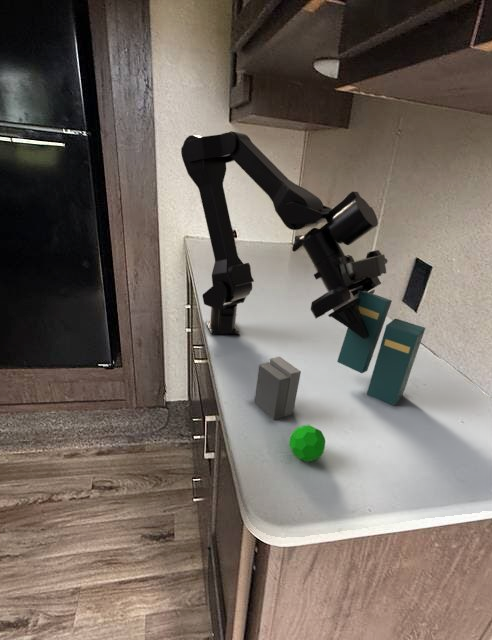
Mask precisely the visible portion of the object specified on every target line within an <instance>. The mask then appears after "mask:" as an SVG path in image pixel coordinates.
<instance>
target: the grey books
mask: <svg viewBox="0 0 492 640" xmlns="http://www.w3.org/2000/svg"><path fill="white" fill-rule="evenodd" d="M301 373H302V371H301V370H299V368H297V367H296V366H294V365H293V364H292V363H290V362H288V361H287V360H285V359H284V358H283V357H282V356H276V357H275V356H274V357H271V358H270V359H269V361H267V362H263V363H258V370H257V379H256V387H255V393H254V401H253V403H254V405H256V406H257V407H258V408H260V409H261V410H262V412H264V413H265V414H266V415H267V416H269V418H270V419H271V420H273V421H274V420H277V419H280V418H283V417H288V416H290V415H293V414H294V410H295V405H296V400H297V394H298V390H299V384H300V378H301Z"/></svg>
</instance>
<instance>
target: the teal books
mask: <svg viewBox="0 0 492 640" xmlns="http://www.w3.org/2000/svg"><path fill="white" fill-rule="evenodd" d="M425 331H426V327H424V326H421V325H418V324H415V323H411V322H408V321H405V320H402V319H399V318H394V319H393V320H391V321H390V322H389V323H387V324H386V325H385V329H384V331H383V332H384V333H383V335H382V339H381V342H380V345H379V348H378V349H379V350H378V352H377V356H376V360H375V363H374V368H373V371H372V374H371V378H370V381H369V385H368V388H367V392H366V395H367V396H370V397H372V398H375V399H377V400H379V401H382V402H384V403H387V404H389V405H392V406H396V405H397V403H398V402H399V401H400V400H401V399H402V397H403V396H404V393H405V390H406V387H407V384H408V381H409V378H410V374H411V372H412V369H413V366H414V363H415V360H416V358H417V355H418V352H419V349H420V346H421V343H422V339H423V336H424V334H425Z"/></svg>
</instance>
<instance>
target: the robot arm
mask: <svg viewBox="0 0 492 640" xmlns="http://www.w3.org/2000/svg"><path fill="white" fill-rule="evenodd" d="M180 148H181V149H180V152H181V158H182V162H183V164H184V167H185V170H186V173H187V175H188V176H189V177H190V179H191V181H192V182H193V183H194V184H195V186H196V187H197V189H198V191H199V196H200V201H201V205H202V209H203V212H204V214H203V215H204V217H205V222H206V226H207V230H208V235H209V239H210V240H209V241H210V245H211V249H212V253H213V257H214V264H213V268H212V272H211V284H212V286H211V287H209V289H207V290H206V291H205V292H204V293H203V294H202V301H203V305H205V306H208V307H210V320H207V321H206V322H205V323H206V326H207V328H208V330H209V332H210V334H211V335H239V334H240V330H239V329H238V327H237V325H236V322H237V310H238V305H240V304H243V303H245V300H246V299H247V297H248V296H249V295H250V294H251V292H252V290H253V283H254V282H255V280H254V277H253V275H252V270H251V269H252V268H251V267H252V266H251V265H250V264H251V263H249V262H246V263H244V262H243V260H241V258H240V257H239V254H238V250H237V245H236V240H235V235H234V231H233V226H232V222H231V217H230V213H229V207H228V203H227V197H226V193H225V188H224V181H225V176H226V172H227V163H232V162H235V163H236V164H237V165H238V166H239V168H241V169H242V170H243V171H244V172H245V174H246V175H247V176H248V177H250V179H251V180H252V181H253V182H254V184H256V185H257V186H258V187H259V188H260V189H261V190H262V191H263V193H265V194H266V195H267V196H268V197H269V199H270V200H271V202H272V204H273V205H272V206H273V208H274V212H275V213H276V214H277V216H278V217H279V219H280V220H281V221H282V223H283V224H284V226H285V227H286V228H288V229H289V230H291V231H298V230H307V229H308V230H309V229H310V230H309V231H308V232H306V233H304V234H303V235H302V234H299V235H295V236H294V242H293V244H292V247H291V250H292V252H299V251H305V253H306V254H307V257H308V258H309V260H310V262H311V264H312V266H313V268H314V269H315V271H316V272H315V273H314V274H313V277H314V278H315V280H319V279H320V280H321V282H322V284H323V285H324V288H325V290H326V291H327V292H325V293H324V294H322V295H321V296H319V297H318V298H316V299H315V300H313V301H311V305H310V311H311V313H312V315H313V317H314V319H318V318H320V317H323V316H324V315H325V314H327V313H328V312H330V311H332V312H331V313H328V314H327V316H328V317H329V318H333V319H334V320H336V321H337V322H339V324H341V325H343V326H345V327H347V329H348V328H349V329H351V330H352V331H353V332H355V333H356V334H357V335H359V336H360V337H362V338H363V339H366V338H368V337H369V334H368V331H367V328H366V325H365V323H364V321H363V318H362V316H361V313H360V311H359V304H360V299H361V296H360V297H358V294H359V292H360V291H366V292H369V293H372V294H374V293H375V292H376V289H374V288H377V287H378V286H380V285H382V282H381V280H380V278H379V277H381V276H382V274H384V275H385V274H387V267H386V264H388V259H387V258H386V256H385V254H382V253H381V251H380V249H375V250H371V251H368V252H367V253H366V257H365V258H362V259H358V260H355V259H354V257H353V255H350V254H347V255H346V254H345V253H344V251H343V249H342V247H341V244H343V245H346V246H350V245H352V244H353V243H355V242H357V240H359V239H360V238H362V237H363V236H365V235H367V234H368V233H369V232H371V231H372V230H373V229H375V228H377V226H378V224H379V220H378V217H377V215H376V212H375V210H374V208H373V207H372V206H370V205H369V203H368V202H367V201H366V200H365V199H364V198H363V197H361V195H360V193H359V191H350V192H349V193H348V194H347V195H346V196H345V197H344V198H343V199H342V201H340V202H339V203H338V204H336V205H335V206H334V207H329V206H327V205H324V202H323V201H322V200H321V198H320V197H318V196H317V195H315V194H314V193H313V192H311V191H309V190H308V189H306V188H305V187H302V186H300V185H299V184H296V183H295V182H293V181H292V180H291V179H289V178H288V177H287V176H286V175H285V174H284V173H283V172H282V171H281V170H280V169H279V168H278V167H277V166H276V165H275V164H274V163H273V162H272V161H271V159H270V158H268V157H267V156H266V155H265V153H263V152H262V151H261V149H260V148H258V146H256V144H255V143H253V142H252V140H251V138H250V137H249V136H248V134H246V133H242V132H239V131H238V132H237V131H234V130H233V131H232V130H231V131H230V130H229V131H227V132H223V133H220V134H213V135H206V136H205V135H204V136H201V135H196V134H195V135H194V134H192V135H189V136H187V137H186V138H185V140H184V141H183V145H182V146H181V147H180ZM320 224H323V225H322V226H321V227H320V228H318V225H320ZM357 297H358V298H357Z"/></svg>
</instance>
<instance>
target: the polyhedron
mask: <svg viewBox="0 0 492 640" xmlns="http://www.w3.org/2000/svg"><path fill="white" fill-rule="evenodd" d="M288 445H289V448H290V450H291V452H292V454H293V456H294V457H296V458H298V459H299V460H301V461H304V462H313V461H315V460H318V459H320V457H321V456H322V455H323V454H324V452H325V448H326V438H325V435H324V434H323V432H322V430H320V429H318V428H316V427H314V426H312V425H310V424H305V425H301V426H298V427H296V428H295V429H294V430H293V431H292V432H291V434H290V436H289V442H288Z"/></svg>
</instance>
